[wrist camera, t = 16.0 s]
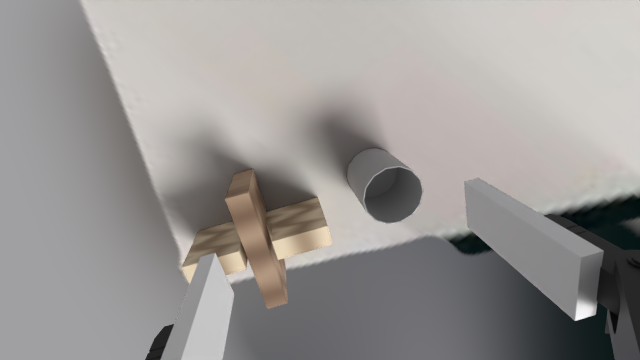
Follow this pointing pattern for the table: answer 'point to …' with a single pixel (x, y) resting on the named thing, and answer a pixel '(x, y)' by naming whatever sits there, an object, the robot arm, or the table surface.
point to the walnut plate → (257, 236)
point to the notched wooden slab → (284, 229)
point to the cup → (384, 186)
